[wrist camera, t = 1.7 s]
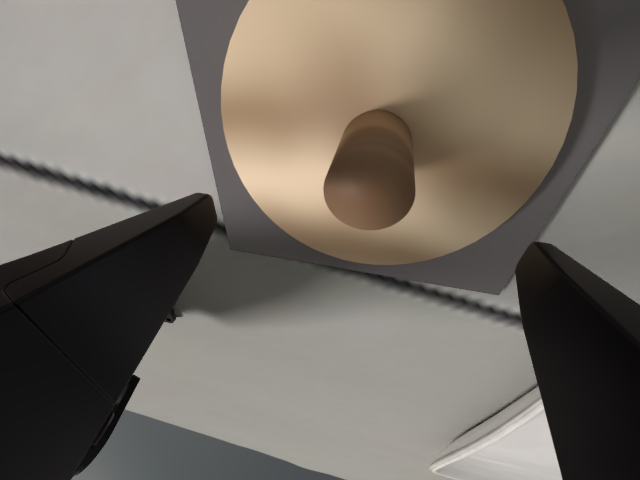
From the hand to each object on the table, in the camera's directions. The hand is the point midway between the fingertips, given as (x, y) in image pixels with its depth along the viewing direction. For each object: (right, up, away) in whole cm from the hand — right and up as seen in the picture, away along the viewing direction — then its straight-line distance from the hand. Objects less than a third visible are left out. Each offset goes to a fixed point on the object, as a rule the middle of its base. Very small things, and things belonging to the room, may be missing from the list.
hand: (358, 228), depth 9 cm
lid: (+1, +4, +5) cm, 7 cm away
